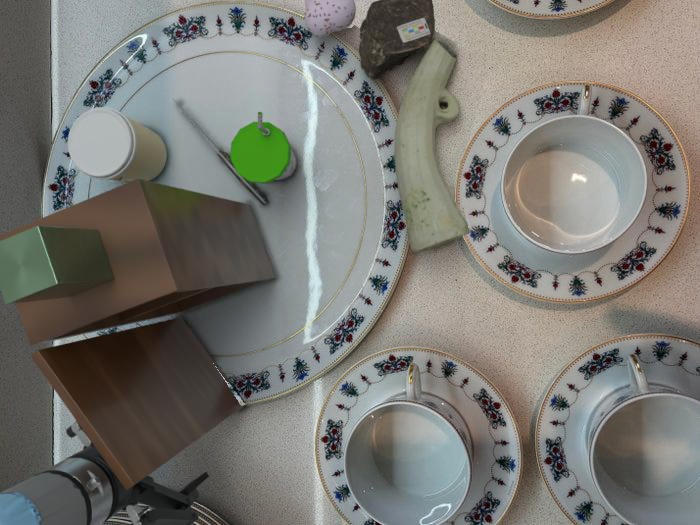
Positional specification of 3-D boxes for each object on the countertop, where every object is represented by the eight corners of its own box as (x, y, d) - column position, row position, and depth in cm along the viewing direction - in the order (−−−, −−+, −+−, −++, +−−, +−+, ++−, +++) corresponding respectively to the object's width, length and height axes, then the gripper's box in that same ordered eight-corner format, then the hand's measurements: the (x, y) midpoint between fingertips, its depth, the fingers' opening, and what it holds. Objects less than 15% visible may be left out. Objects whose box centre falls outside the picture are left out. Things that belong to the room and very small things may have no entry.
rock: (427, -15, 87) (451, 42, 86) (408, 13, 93) (430, 66, 93) (357, 5, 84) (381, 63, 83) (343, 32, 91) (366, 86, 90)
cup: (276, 202, 94) (242, 192, 79) (243, 159, 95) (203, 142, 80) (319, 166, 93) (292, 150, 78) (285, 123, 94) (252, 99, 79)
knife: (173, 103, 97) (164, 98, 94) (180, 96, 96) (171, 91, 93) (264, 206, 95) (258, 205, 92) (271, 200, 94) (265, 198, 91)
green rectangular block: (115, 279, 62) (57, 284, 53) (68, 297, 63) (4, 304, 54) (97, 229, 62) (37, 225, 53) (51, 247, 63) (-15, 246, 54)
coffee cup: (100, 160, 99) (51, 148, 87) (138, 110, 97) (94, 91, 86) (146, 200, 97) (103, 193, 86) (185, 150, 96) (146, 136, 85)
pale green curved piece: (404, 254, 91) (478, 246, 90) (406, 254, 83) (487, 245, 82) (380, 50, 91) (454, 40, 90) (380, 29, 83) (461, 18, 82)
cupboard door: (211, 432, 96) (82, 526, 63) (147, 345, 98) (-13, 392, 65) (246, 404, 95) (134, 484, 62) (181, 316, 97) (37, 349, 64)
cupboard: (276, 277, 94) (177, 290, 61) (177, 313, 97) (30, 345, 64) (250, 204, 95) (138, 178, 62) (152, 242, 97) (-7, 237, 64)
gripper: (178, 580, 65) (246, 501, 86) (43, 368, 67) (141, 341, 88) (120, 618, 66) (201, 530, 87) (-12, 408, 68) (99, 372, 89)
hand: (171, 435), depth 88 cm, fingers open, 13 cm apart
